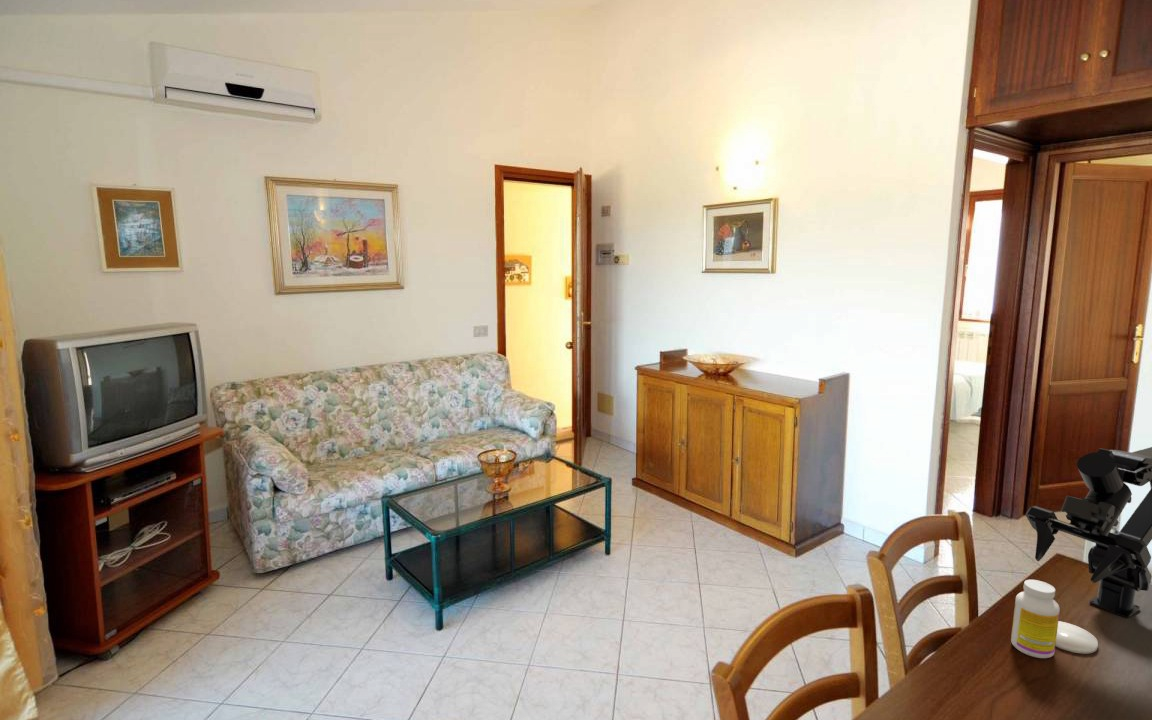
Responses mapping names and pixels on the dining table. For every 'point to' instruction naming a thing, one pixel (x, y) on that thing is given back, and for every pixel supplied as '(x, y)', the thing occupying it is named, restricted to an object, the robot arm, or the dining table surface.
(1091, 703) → the dining table surface
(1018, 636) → the supplement bottle
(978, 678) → the dining table surface
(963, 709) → the dining table surface
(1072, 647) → the coaster
